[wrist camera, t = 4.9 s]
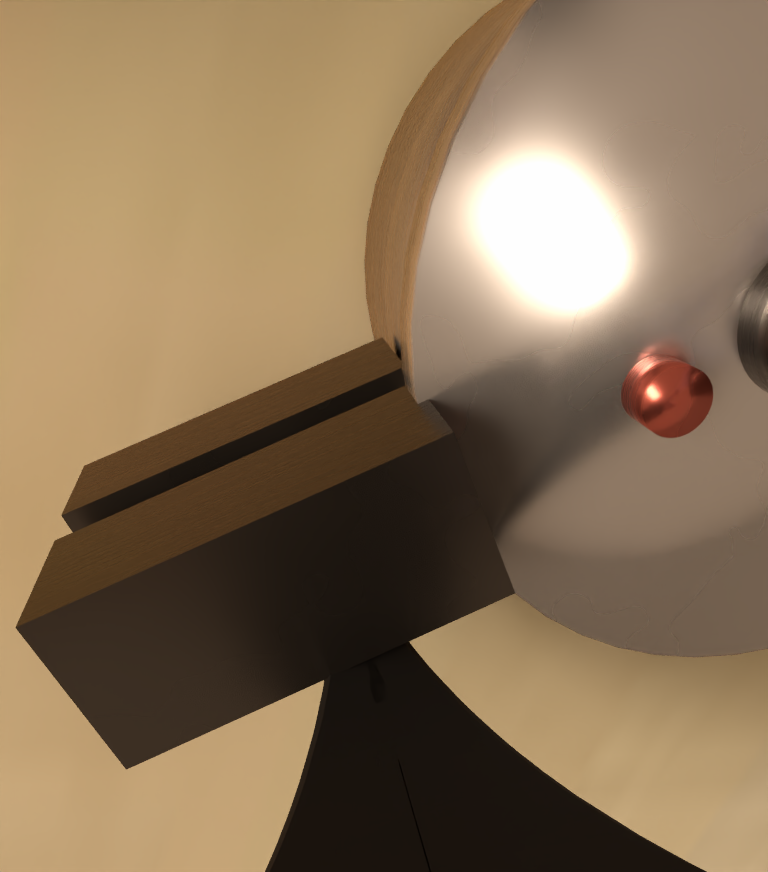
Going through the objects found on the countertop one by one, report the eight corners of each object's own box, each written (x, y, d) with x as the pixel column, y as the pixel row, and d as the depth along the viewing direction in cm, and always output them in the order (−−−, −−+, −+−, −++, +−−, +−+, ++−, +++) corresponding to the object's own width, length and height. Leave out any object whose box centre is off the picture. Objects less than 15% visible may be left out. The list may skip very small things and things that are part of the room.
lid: (1144, -330, 9) (1386, -457, 7) (1100, 465, 13) (1236, 515, 12) (-164, 229, 8) (-276, 253, 6) (269, 846, 13) (275, 960, 11)
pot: (971, -204, 13) (1292, -355, 9) (980, 338, 18) (1199, 395, 14) (-20, 211, 13) (-136, 242, 9) (251, 661, 17) (257, 820, 13)
